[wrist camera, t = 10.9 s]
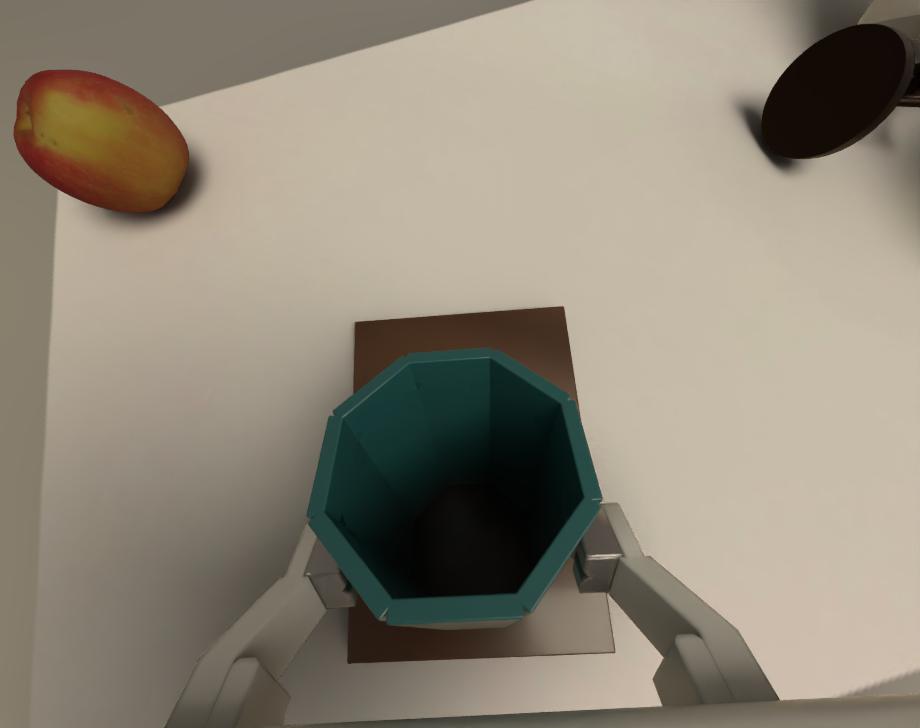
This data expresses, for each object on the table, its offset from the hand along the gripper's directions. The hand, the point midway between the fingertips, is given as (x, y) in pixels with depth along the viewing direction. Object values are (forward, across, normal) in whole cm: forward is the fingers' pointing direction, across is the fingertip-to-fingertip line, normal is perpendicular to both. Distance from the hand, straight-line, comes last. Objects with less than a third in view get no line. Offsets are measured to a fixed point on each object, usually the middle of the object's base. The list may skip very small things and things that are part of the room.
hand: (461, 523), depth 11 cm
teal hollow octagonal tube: (+3, 0, +6) cm, 7 cm away
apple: (+23, +22, -9) cm, 33 cm away
